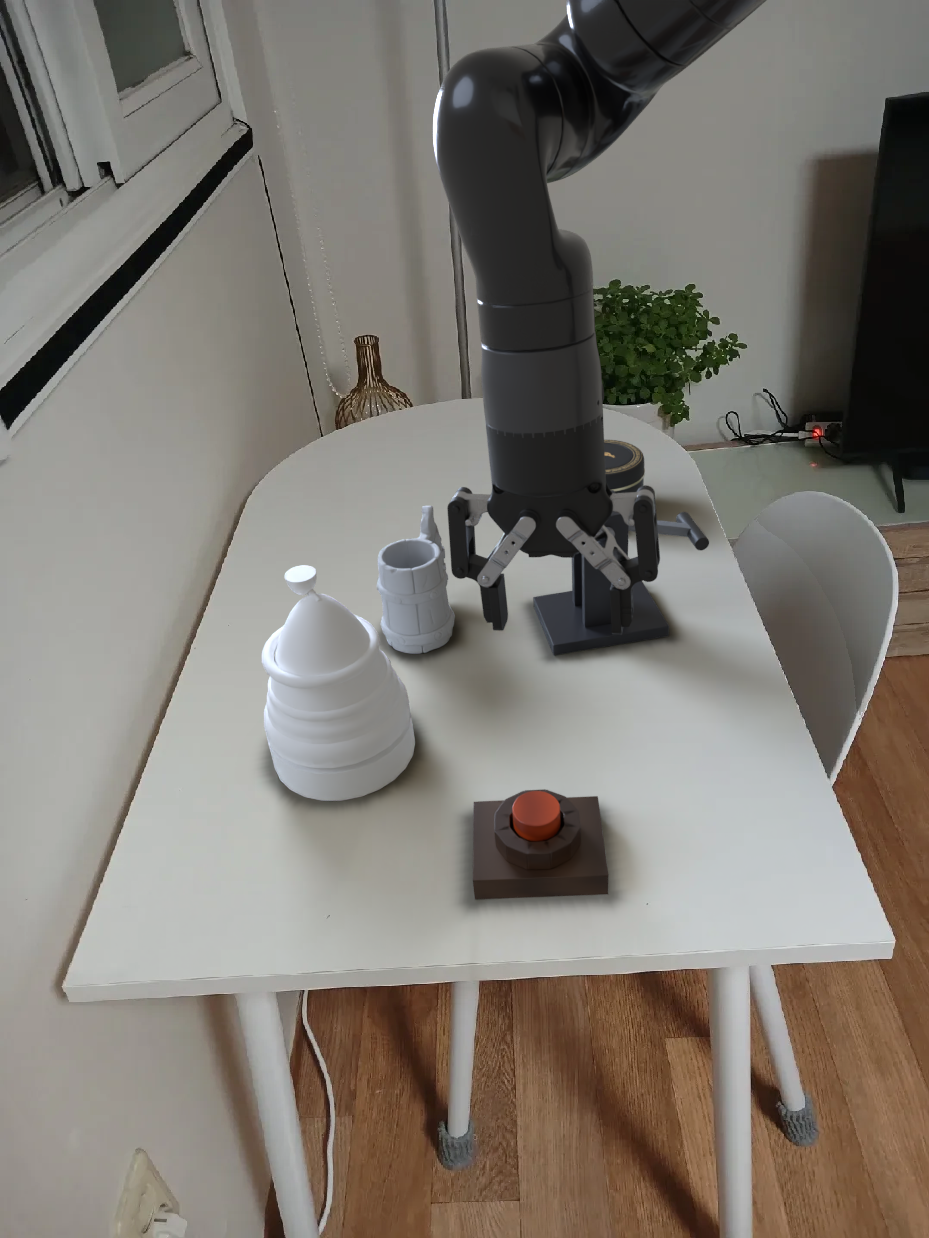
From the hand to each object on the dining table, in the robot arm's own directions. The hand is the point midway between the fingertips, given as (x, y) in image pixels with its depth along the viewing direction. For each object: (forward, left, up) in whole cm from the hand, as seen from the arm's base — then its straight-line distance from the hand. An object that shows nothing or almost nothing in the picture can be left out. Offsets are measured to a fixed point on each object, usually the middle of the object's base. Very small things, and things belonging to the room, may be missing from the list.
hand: (558, 627), depth 69 cm
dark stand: (+17, -20, -18) cm, 32 cm away
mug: (+29, -7, -18) cm, 35 cm away
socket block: (-3, +5, -18) cm, 19 cm away
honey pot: (+18, +10, -18) cm, 28 cm away
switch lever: (+15, -24, -8) cm, 29 cm away
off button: (-3, +5, -14) cm, 16 cm away
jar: (+33, -37, -18) cm, 53 cm away
